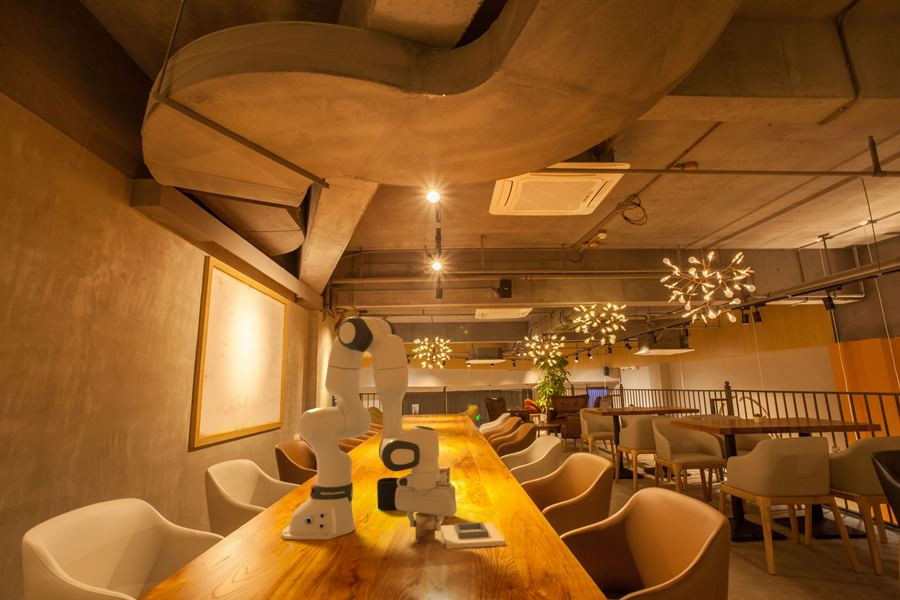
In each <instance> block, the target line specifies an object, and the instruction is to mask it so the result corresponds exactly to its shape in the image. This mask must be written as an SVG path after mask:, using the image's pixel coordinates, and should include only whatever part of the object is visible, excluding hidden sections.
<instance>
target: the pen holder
mask: <svg viewBox="0 0 900 600" xmlns="http://www.w3.org/2000/svg"><path fill="white" fill-rule="evenodd" d="M399 478H400V477H383V478H379V479H378V480H377V483H376V493H377V495H376V496H377V499H376V500H377V508H378V509H379V510H381V511H395V510H398V509H397V508H396V506H395V494H396V489H397V487H398V485H397V479H399Z"/></svg>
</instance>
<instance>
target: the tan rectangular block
mask: <svg viewBox="0 0 900 600" xmlns="http://www.w3.org/2000/svg"><path fill="white" fill-rule="evenodd" d="M415 520H416V527H415V539H416V542H417V541H418V542H417V543H418V544H427V543H426V542H428V543H436V531H434V524H436V517H435V516H434V515H432V514H425V513H418V512H415Z"/></svg>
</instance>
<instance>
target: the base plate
mask: <svg viewBox="0 0 900 600" xmlns="http://www.w3.org/2000/svg"><path fill="white" fill-rule="evenodd" d="M440 534H441V536H442V539H443V542H444V544H445V548H446V549H447V548H450V549H464V548H463V547H466V548H478V547H494V546H495V547H498V546H506V540H505V539H504V537H503V536H502V534H501V533H500V532H499V530H498V529H497V528H496V526H495V525H494V524H493V522H485V523H484V522H482V521H480V522H477V521H476V522H464V523H462V522H461V523H460V522H459V523H453V524H448V525H447V524H446V525H441V530H440ZM497 545H498V546H497ZM461 547H462V548H461Z"/></svg>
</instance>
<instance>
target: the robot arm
mask: <svg viewBox="0 0 900 600" xmlns="http://www.w3.org/2000/svg"><path fill="white" fill-rule="evenodd" d="M331 345H332V346H331V349H330V353H329V356H328V362H327V367H326V368H327V369H326V376H325V383H324V386H325V389H326V391H327V392H328V393H329V394H330V395H332V396H333V397H334V398H336V399H335V400H336V405H335V406H325V407H324V406H323V407H321V406H320V407H316V408H312V409H308V410H305V411H304V412H303V413H302V414H301V416H300V418H299V420H298V423H297V424H298V425H297V428H298V433H299V435H300V437H301V438H302V439H303V440H304V441H305V442H306V443H308V445H310V447H311V448H312V450H313V452H314V454H315V459H316V473H317V474H316V483H312V484H311V486H310V489H309V496H310V497H309V498H308V499H306V500H305V501H304V502H303V503H302V504H300V505H299V506H298V507H297V508H296V509H295V510H294V512H293V513H292V516H291V519H290V523H289V524H288V525H287V526H286V527H284V528H283V530H282V531H281V532H282V533H281V538H282V539H284V540H327V541H328V540H333V539H334V538H336V537H340V536H344V535H347V534H349V533H350V534H351V532H353V531H355V530H356V525H355V521H354V516H353V515H354V514H353V506H352V505H353V503H352V501H353V499H354V498H353V497H354V493H353V492H354V487H353V484H354V483H353V482H352V478H353V477H352V475H353V473H352V471H353V469H352V468H353V467H352V466H353V460H352V458H351V456H350V455H349V454H348V453H346V452H345V451H343V450H341V448H340V446H339V441H340V440H348V439H349V440H350V439H355V438H358V437H361V436H364V435H366V434H367V433H369V431H370V428H371V427H372V416H371V413H370V411H369V410H368V409H367V408H366V406H364V404H363V402H362V400H361V397H360V391H359V390H360V378H361V377H360V376H361V370H362V360H363V356H364V354H365V353H366V352H367V353H369V354H370V355H371V358H372V370H373V371H372V373H373V381H374V385H375V390H376V393H377V396H378V399H379V402H380V406H381V413H382V428H383V429H382V432H383V433H382V437H381V440H380V443H379V445H378V446H379V448H378V456H379V458H380V460H381V462H382V464H383V465H384V466H385V467H386V469H388V470H389V471H392V472H402V471H406V470H409V469H410V473H409V474H406V475H404V476H402V477H398V478H399V479H397V485H398V487H397V489H396V494H395V506H396V508H397V509H396V510H398V511H403V512H404V511H405V512H406V516H407V518H408V520H409V527H410V528H416V517H415V516H414V514H415V513H425V514H432V515H437V517H436V519H437V520H438V521H437V522H435V524H434V531H435V532H441V526H442V523H443V521H444V520H445V518H444V516H446V517H448V518H450V517H453V516H454V515H456V513H457V510H458V509H457V500H456V487H455V486H454V484H452V483H451V482H450V483H448V482H447V483H445V482H439V467H440V465H439V458H440V443H439V436H438V433H437V431H436V430H435V429H434V428H433V427H430V426H425V425H414V426H413V427H412V428H411V429H409V430H408V431H406V432H404V430H403V418H402V417H403V414H402V406H403V405H402V403H403V399H404V397H405V394H406V393H407V390H408V384H409V365H408V357H407V351H406V348H405V344H404V341H403V339H402V338H401V337H400V336H398V335H397V329H396V327H395V325H394V323H392V322H391V321H389V320H387V319H385V318H379V317H374V316H351V317H347V318H345V319H343V320H342V321H341V322H340V324H339V326H338V329H337V335H336V337H335V338H334V340H333V343H332V344H331Z"/></svg>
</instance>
